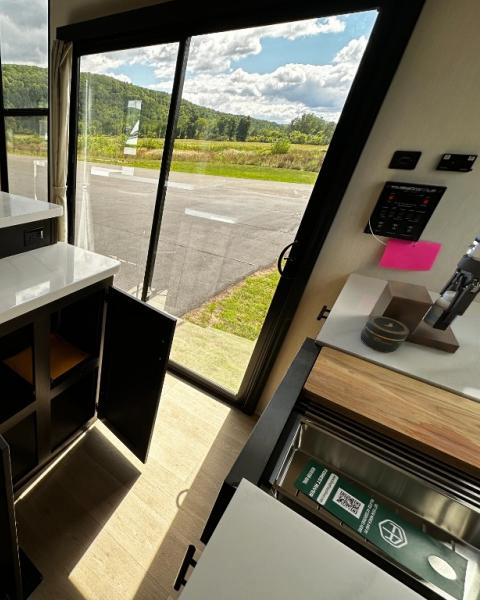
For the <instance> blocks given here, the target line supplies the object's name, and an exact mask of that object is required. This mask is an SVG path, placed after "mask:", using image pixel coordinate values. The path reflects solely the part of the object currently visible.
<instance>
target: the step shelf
mask: <svg viewBox="0 0 480 600" xmlns="http://www.w3.org/2000/svg"><path fill="white" fill-rule="evenodd" d="M386 281H387V283H386V285H385V286H384V288H383V290H382V291H381V293H380V295H379V297H378V299H377V301H376V302H375V304H374V306H373V308H372V309H371V311H370V313H369V314H368V316H369V317H368V318H371V317H373V316H383V317H388V318H391V319H394V320H397V321H399V322H401V323H403V324H404V325H405V326H407V328H408V329H409V334H408V336H407V338H406V339H405V340H404V341H403V342H408V343H410V344H411V343H412V344H416V345H420V346H423V347H426V348H427V347H428V348H431V349H435V350H439V351H443V352H447V353H451V354H456V352H457V351H458V349H459V348H460V347H461V345H460V343H459V341H458V339H457V336H456V335H455V333H454V331H453V329H452V327H451V326H450V327H449V328H448V329H446V330H445V331H443V330H439V329H434V328H433V327H431V326H429V325H428V324H426V323H425V322H424V321H423V319H424V317H425V316H426V314H427V313H428V311H429V310H430V308H431V307H432V306H433V305H434V302H433V298H432V297H431V295H430V293H429V290H428V288H427V286H425V285H420V284H415V283H410V282H404V281H398V280H394V279H387V280H386Z"/></svg>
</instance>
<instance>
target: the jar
mask: <svg viewBox="0 0 480 600" xmlns="http://www.w3.org/2000/svg"><path fill="white" fill-rule="evenodd" d="M408 334H409V329H408V328H407V326H405V325H404V324H403V323H401V322H399V321H397V320H394V319H391V318H388V317H383V316H373V317H371V318H370V317H368V319H367V321H366V323H365V325H364V327H363V328H362V330H361V331H360V336H359V337H360V340H361V342H362V341H363V342H364V343H363V342H362V343H363V344H364V345H365V346H367V347H369V348H370V349H373V350H375V351H378V352H384V353H391V352H394V351H396V350H398V349H399V348H400V347H401V346H402V344H403V342H405V341H404V340H405V339H406V338H407V336H408Z"/></svg>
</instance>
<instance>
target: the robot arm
mask: <svg viewBox="0 0 480 600" xmlns="http://www.w3.org/2000/svg"><path fill="white" fill-rule="evenodd" d="M456 266H457V267H456V268H455V270H454V273H453V274H452V276H450V278H449V280H448V281H447V282H446V283H445V285H444V286H443V287H442V289H441V290H440V292H439V293H438V294H439V295H440V296H439V298H440V297H443V295H444V294H445V292H446V291H455V292H456V294H455V296H454V298H453V299H452V301H451V303H450V305H449V307H448V309H447V310H444V309H443V313H442V314H441V316H440V317H439V318H438V320H437V321H436V323H435V324H434V325H433V328H434V329H439V330H443V331H445V330H446V329H447V327H448V326H449V325H450V323H451V322H452V321H453V319H454V318H455V317H456V315H458V317H462V316H464V314H465V313H466V311H468V309H469V307H470V306H471V304H472V303H473V302H474V300H475V299H476V297H477V296H478V295H479V293H480V231H479V232H478V234H477V235H476V237H475V238H474V240H473V241H472V243H468V245H467V250H466V251H465V254H463V255H462V257H461V258H460V260H459V261H458V263H456Z"/></svg>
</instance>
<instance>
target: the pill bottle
mask: <svg viewBox="0 0 480 600" xmlns="http://www.w3.org/2000/svg"><path fill="white" fill-rule="evenodd" d="M455 294H456V292H455V291H446V292H445V294H444V295H443V297H440V296H439V297H438V298H437V299H436V300H435V301H434V302H433V304H434V305H433V306H431V307H430V309H429V310H428V312H427V313H426V315H425V316H424V317H423V319H422V320H423V321H424V322H425V323H426V324H428V325H429V326H431V327H433V325H434V324H435V323H436V321H437V320H438V318H439V317H440V316H441V314H442V313H443V309H444V310H447V309H448V307H449V305H450V303H451V301H452V299H453V298H454V296H455ZM458 317H459V315H456V317H455V318H454V319H453V321H452V322H451V323H450V325H449V326H448V327H447V329H448V328H449V327H451V326H452V325H453V323H454V322H455V321H456V320H457V318H458Z"/></svg>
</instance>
